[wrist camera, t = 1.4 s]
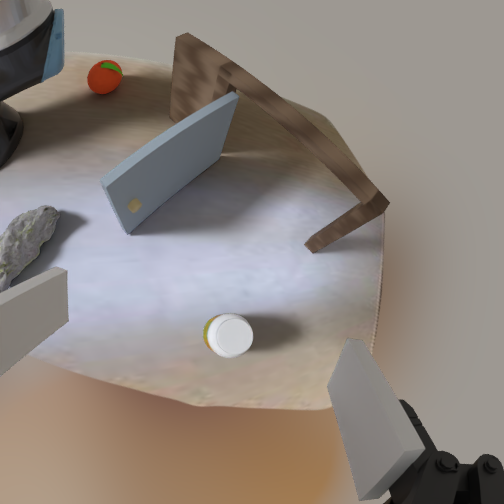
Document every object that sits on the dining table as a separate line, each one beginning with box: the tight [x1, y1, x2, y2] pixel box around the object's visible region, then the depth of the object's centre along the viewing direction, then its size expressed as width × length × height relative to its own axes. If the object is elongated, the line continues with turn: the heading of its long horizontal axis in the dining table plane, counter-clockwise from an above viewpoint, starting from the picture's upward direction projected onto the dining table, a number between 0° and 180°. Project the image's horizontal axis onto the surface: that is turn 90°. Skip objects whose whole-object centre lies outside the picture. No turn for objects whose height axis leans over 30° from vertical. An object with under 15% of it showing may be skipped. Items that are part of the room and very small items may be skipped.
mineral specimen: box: [0, 206, 60, 293], centre depth 31 cm, size 16×7×7 cm, turn 139°
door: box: [100, 91, 239, 235], centre depth 35 cm, size 19×3×15 cm, turn 137°
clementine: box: [87, 60, 124, 94], centre depth 41 cm, size 8×7×7 cm
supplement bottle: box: [203, 313, 253, 358], centre depth 35 cm, size 5×5×10 cm
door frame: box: [170, 33, 390, 253], centre depth 38 cm, size 34×2×18 cm, turn 47°
